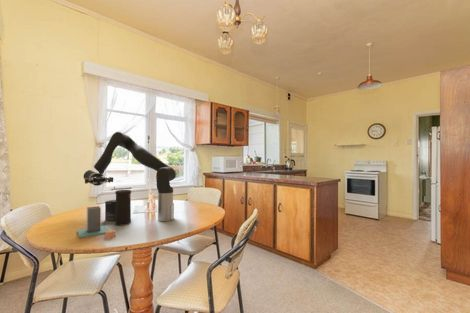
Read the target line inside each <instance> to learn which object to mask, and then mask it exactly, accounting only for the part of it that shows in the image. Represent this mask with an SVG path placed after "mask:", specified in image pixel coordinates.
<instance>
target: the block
mask: <svg viewBox="0 0 470 313" xmlns="http://www.w3.org/2000/svg"><path fill="white" fill-rule="evenodd" d="M108 230H109V229H108ZM114 238H116V230H114V229H110V230H109V231H106V232H105V234H104V239H106V240H111V239H114Z"/></svg>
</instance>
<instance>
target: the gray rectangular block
mask: <svg viewBox="0 0 470 313" xmlns="http://www.w3.org/2000/svg"><path fill="white" fill-rule="evenodd" d="M101 211H102V210H101V207H100V206H99V205H98V206H90V207H86V228H87V232H88V233H91V232H97V231H100V226H101V219H102V218H101Z"/></svg>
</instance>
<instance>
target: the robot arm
mask: <svg viewBox="0 0 470 313" xmlns="http://www.w3.org/2000/svg"><path fill="white" fill-rule="evenodd" d="M118 147H121V148H124V150H125V149H126V150H127V151H128V152H130V153H131V155H132V157H133V158H134V160H136V161H137V162H138V163H139V164H141V165H142V166H144V167H146V168H149V169H152V170H154V171H156V175H155V178H156V179H155V180H156V181H155V183H156V190H157V220H158V222H168V221H169V222H170V221H173V219H175V203H174V188H173V186H171V185H170V184H171V181H174V180H175V178H176V176H177V174H176V171H175V169H174V168H173V167H171V166H170V165H168V164H167V163H164V162H163V161H161V160H160V159H159V158H158V157H156V156H155V155H154V154H152V152H150V151H149V150H148V149H146V148H144V147H143V146H142V145H140V144H138V143H137V142H136V141H134V140H133V138H132V137H130V135H128V134H126V133H123V132H121V131H116V132H114V133H113V134H112V135H111V136H110V138H109V141H108V142H107V145H106V146H105V149H104V150H103V153H102V154H101V156H100V157H99V159H98V160H97V161H96V163H95V164H94V166H93V168H94V169H95V170H96V171H97V172H96V171H94V170H92V169H89V170H87V171H85V172H84V174H83V179H84V184H87V185H88V184H92V185H93V186H97V187H98V186H102V185H103V184H106V183H108V184H110V183H113V182H114V177H112V176H109V177H108V176H104V173H105V171H106V169H108V166H110V164H111V162H112V159H113V154H114V152H115V150H116V149H117V148H118Z"/></svg>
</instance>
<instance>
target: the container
mask: <svg viewBox="0 0 470 313" xmlns="http://www.w3.org/2000/svg"><path fill="white" fill-rule="evenodd" d="M114 194H115V200H116V213H115V221H114V223H115V224H114V225H116V226H124V225H128V224H130V223H131V222H132V221H131V220H132V218H131V217H132V213H131V211H132V209H131V207H132V206H131V204H132V203H131V194H132V190H130V189H118V190H115V192H114Z"/></svg>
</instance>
